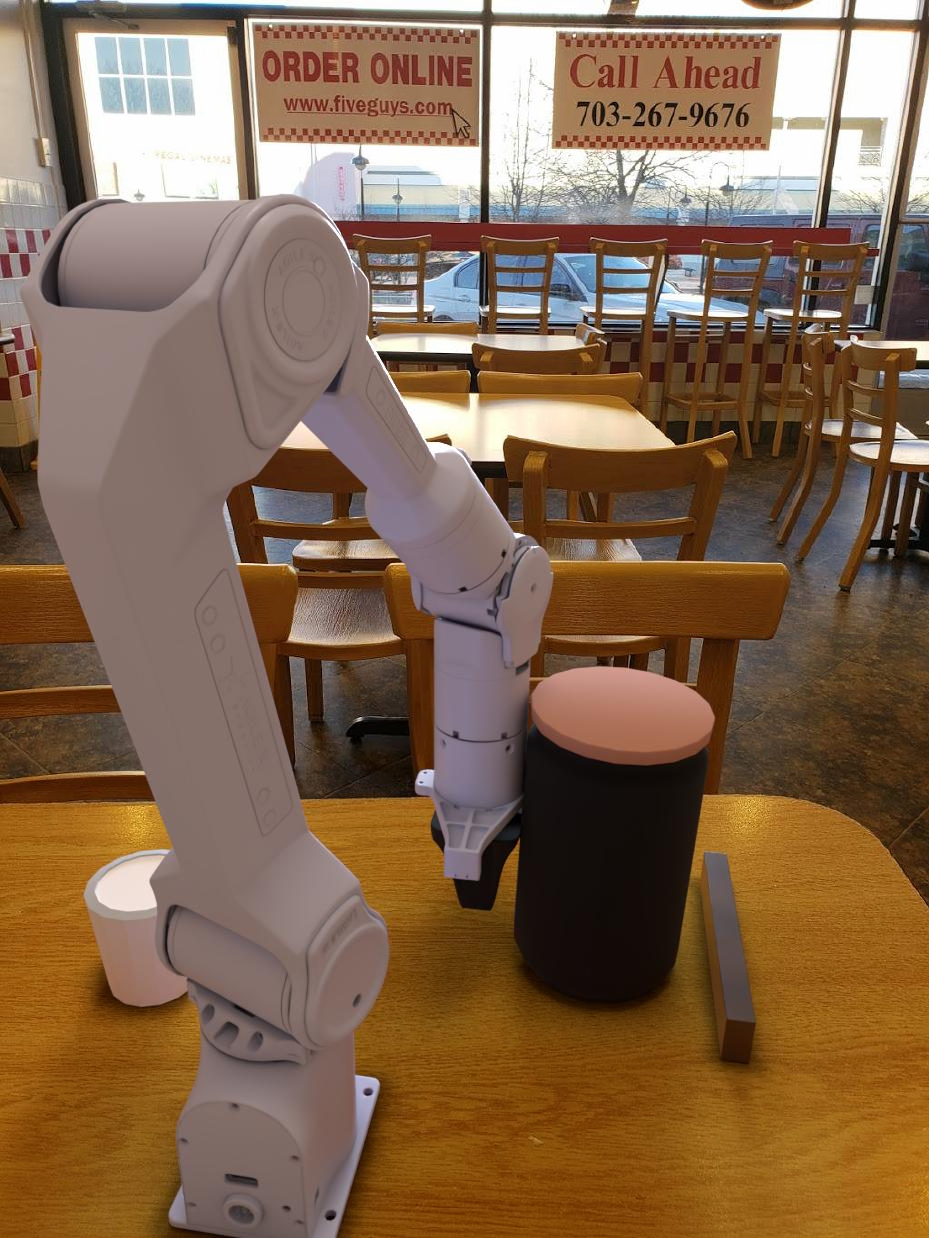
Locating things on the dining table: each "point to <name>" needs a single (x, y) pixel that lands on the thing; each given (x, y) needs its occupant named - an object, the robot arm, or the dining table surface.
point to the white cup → (131, 930)
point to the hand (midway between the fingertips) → (477, 903)
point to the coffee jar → (609, 829)
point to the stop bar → (726, 961)
